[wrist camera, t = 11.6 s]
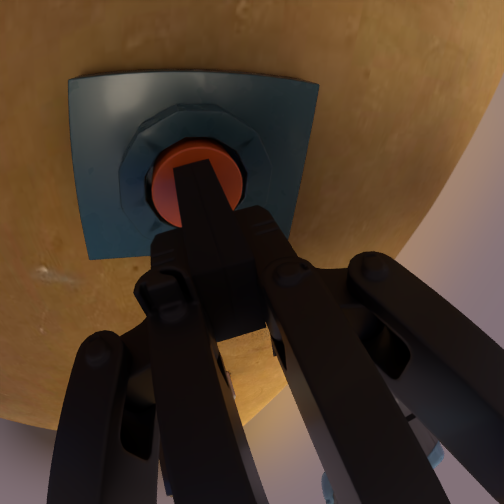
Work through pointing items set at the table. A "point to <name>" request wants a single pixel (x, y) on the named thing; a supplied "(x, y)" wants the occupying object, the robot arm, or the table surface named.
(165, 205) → the button
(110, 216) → the button block
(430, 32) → the table surface
